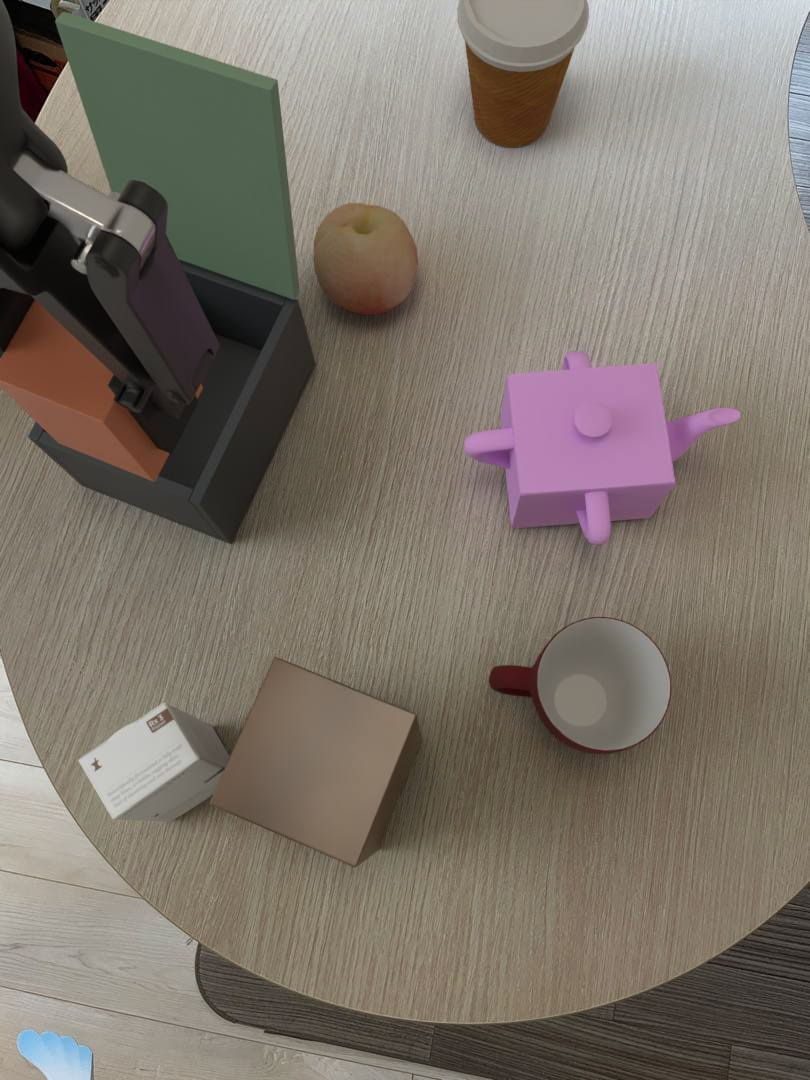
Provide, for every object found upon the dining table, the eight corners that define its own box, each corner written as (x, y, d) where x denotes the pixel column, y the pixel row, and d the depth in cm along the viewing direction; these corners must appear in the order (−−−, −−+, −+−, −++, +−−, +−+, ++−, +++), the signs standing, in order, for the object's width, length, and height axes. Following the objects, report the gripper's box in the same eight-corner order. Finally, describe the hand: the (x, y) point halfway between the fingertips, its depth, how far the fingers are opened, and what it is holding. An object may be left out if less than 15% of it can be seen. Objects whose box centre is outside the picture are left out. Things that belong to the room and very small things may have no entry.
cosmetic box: (169, 825, 64) (110, 829, 53) (136, 769, 65) (71, 762, 54) (246, 771, 65) (203, 764, 53) (211, 717, 66) (163, 699, 54)
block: (57, 443, 43) (-12, 377, 36) (108, 350, 44) (50, 270, 38) (155, 482, 42) (103, 423, 36) (203, 387, 44) (162, 312, 37)
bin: (232, 544, 70) (199, 504, 60) (81, 485, 71) (26, 436, 62) (316, 364, 73) (298, 299, 64) (171, 312, 75) (132, 241, 65)
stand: (270, 804, 64) (208, 804, 47) (317, 694, 66) (274, 655, 49) (378, 850, 63) (356, 868, 46) (422, 738, 65) (417, 714, 48)
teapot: (690, 382, 72) (730, 316, 62) (719, 559, 68) (766, 518, 58) (454, 400, 72) (456, 338, 62) (470, 578, 68) (475, 540, 58)
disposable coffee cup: (439, 86, 80) (440, -35, 68) (546, 56, 80) (564, -70, 69) (475, 178, 77) (482, 68, 66) (585, 146, 78) (611, 31, 66)
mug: (485, 758, 65) (493, 750, 55) (485, 641, 67) (493, 614, 57) (640, 761, 64) (676, 754, 55) (635, 644, 67) (668, 616, 57)
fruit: (423, 245, 76) (422, 182, 68) (414, 336, 74) (411, 281, 66) (325, 239, 76) (312, 175, 68) (312, 328, 74) (298, 273, 66)
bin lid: (271, 90, 48) (278, 79, 49) (54, 20, 50) (62, 10, 50) (294, 300, 63) (300, 291, 63) (127, 241, 65) (133, 232, 65)
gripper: (-695, -47, 20) (-97, 403, 42) (62, 237, 17) (268, 552, 40) (-477, -293, 21) (-14, 264, 44) (236, -64, 19) (340, 400, 42)
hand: (120, 401), depth 42 cm, fingers closed on block, 5 cm apart
